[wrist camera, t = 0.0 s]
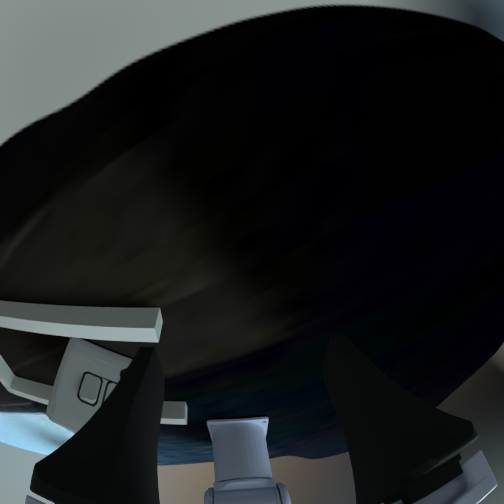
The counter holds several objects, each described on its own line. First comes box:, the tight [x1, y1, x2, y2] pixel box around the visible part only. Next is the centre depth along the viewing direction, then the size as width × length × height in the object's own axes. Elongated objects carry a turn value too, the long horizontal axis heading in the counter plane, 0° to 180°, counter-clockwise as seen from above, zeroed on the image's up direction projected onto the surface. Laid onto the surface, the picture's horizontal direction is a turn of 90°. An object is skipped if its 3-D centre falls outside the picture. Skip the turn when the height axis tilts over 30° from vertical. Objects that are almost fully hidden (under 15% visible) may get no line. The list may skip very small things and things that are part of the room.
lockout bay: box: [0, 301, 187, 425], centre depth 21 cm, size 16×29×6 cm, turn 89°
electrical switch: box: [46, 337, 132, 432], centre depth 20 cm, size 9×5×9 cm, turn 62°
